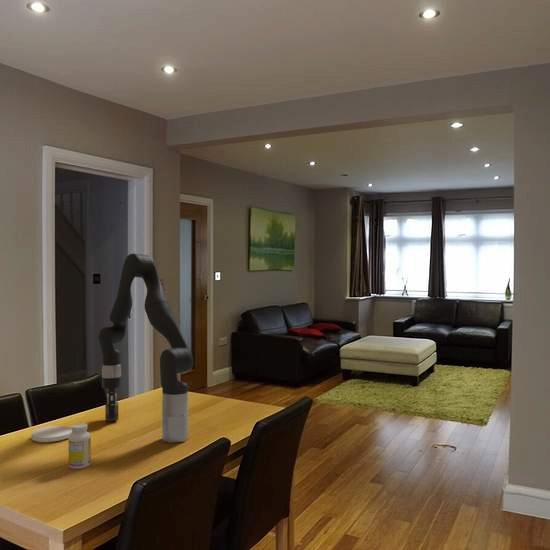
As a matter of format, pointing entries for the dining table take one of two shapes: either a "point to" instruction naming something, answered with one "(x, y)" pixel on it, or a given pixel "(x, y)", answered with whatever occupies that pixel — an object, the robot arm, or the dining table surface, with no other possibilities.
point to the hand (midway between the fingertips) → (111, 416)
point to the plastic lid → (51, 434)
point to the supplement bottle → (79, 447)
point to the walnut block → (108, 411)
